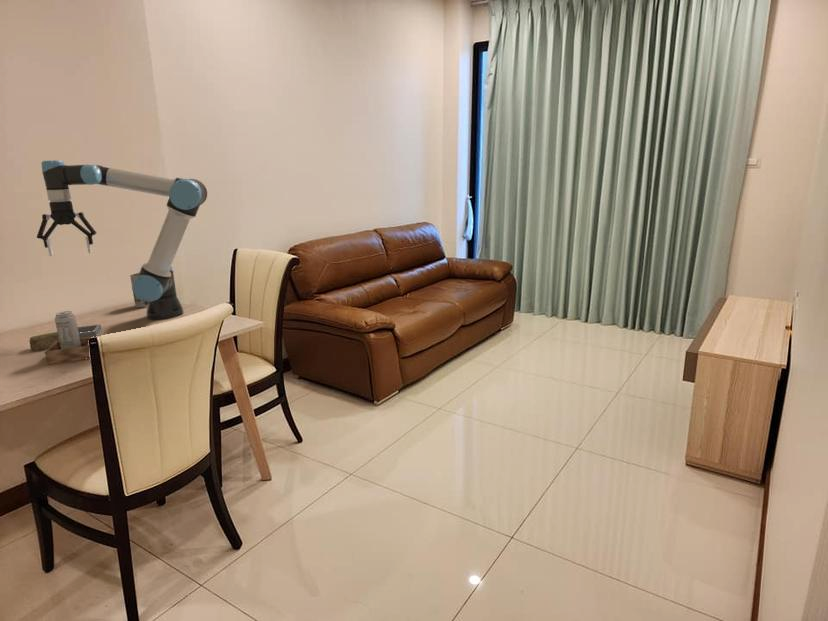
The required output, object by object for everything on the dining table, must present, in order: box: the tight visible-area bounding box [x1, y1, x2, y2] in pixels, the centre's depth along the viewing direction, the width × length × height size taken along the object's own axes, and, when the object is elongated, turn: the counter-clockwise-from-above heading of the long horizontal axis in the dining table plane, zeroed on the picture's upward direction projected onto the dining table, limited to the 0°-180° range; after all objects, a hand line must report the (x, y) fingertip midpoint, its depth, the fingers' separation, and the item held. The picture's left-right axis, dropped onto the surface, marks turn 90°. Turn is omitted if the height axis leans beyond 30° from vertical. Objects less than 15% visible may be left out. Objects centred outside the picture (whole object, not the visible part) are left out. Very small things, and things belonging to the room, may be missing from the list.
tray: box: [77, 323, 102, 338], centre depth 211 cm, size 11×11×2 cm
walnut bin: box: [44, 336, 97, 365], centre depth 187 cm, size 13×13×4 cm
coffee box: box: [129, 272, 148, 309], centre depth 255 cm, size 9×6×16 cm
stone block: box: [29, 331, 60, 351], centre depth 198 cm, size 6×12×5 cm, turn 133°
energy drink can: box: [54, 310, 82, 349], centre depth 185 cm, size 6×6×15 cm
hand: (71, 254), depth 212 cm, fingers open, 13 cm apart
